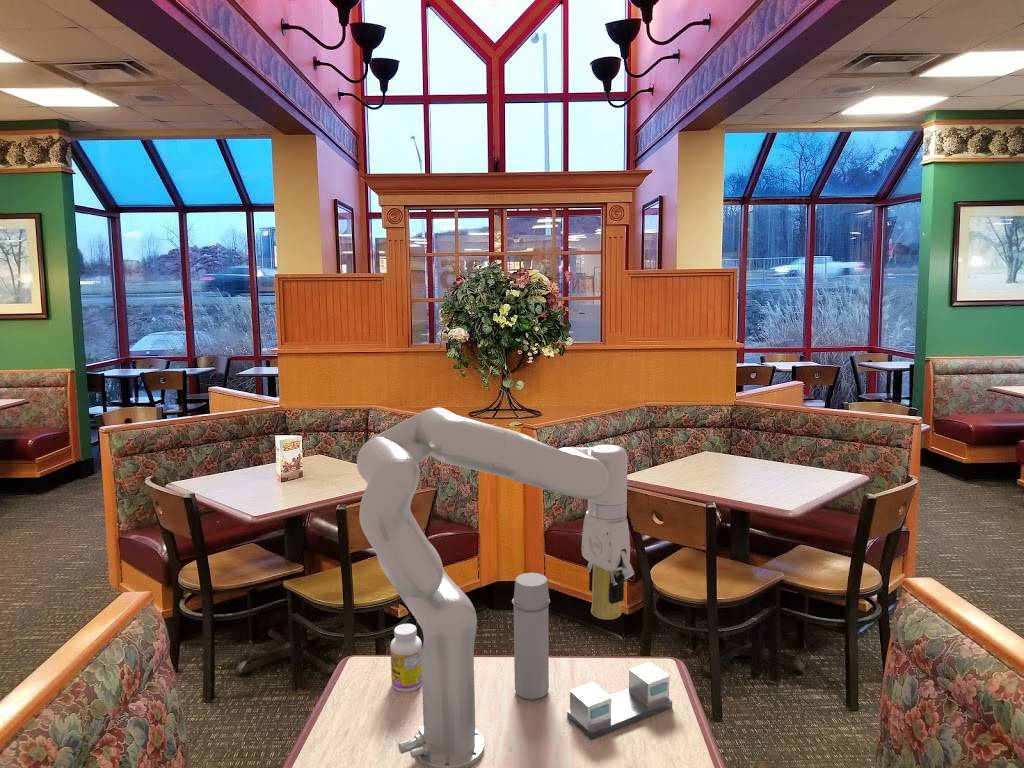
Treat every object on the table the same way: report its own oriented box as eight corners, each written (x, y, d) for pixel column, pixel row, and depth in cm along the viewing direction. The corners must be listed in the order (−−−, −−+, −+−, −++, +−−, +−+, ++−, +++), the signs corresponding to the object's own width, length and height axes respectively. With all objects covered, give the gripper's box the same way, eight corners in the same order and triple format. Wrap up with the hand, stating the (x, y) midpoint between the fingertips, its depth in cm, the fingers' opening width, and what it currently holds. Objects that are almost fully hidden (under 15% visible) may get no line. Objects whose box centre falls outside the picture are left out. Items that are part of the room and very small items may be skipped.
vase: (620, 605, 149) (621, 539, 147) (622, 620, 143) (623, 551, 141) (590, 605, 150) (590, 539, 147) (591, 619, 144) (592, 550, 141)
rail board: (590, 740, 138) (591, 708, 137) (567, 717, 145) (567, 687, 144) (672, 707, 147) (672, 678, 146) (646, 688, 154) (646, 659, 153)
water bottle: (551, 701, 150) (551, 587, 146) (513, 702, 150) (511, 587, 146) (549, 676, 159) (548, 568, 155) (513, 676, 159) (511, 568, 155)
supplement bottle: (388, 680, 158) (385, 625, 156) (417, 672, 161) (415, 618, 159) (396, 696, 152) (394, 639, 150) (427, 688, 155) (425, 632, 153)
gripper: (565, 500, 148) (565, 584, 151) (620, 525, 134) (619, 618, 137) (595, 493, 152) (594, 575, 155) (651, 517, 137) (649, 607, 140)
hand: (606, 594), depth 146 cm, fingers closed on vase, 5 cm apart
